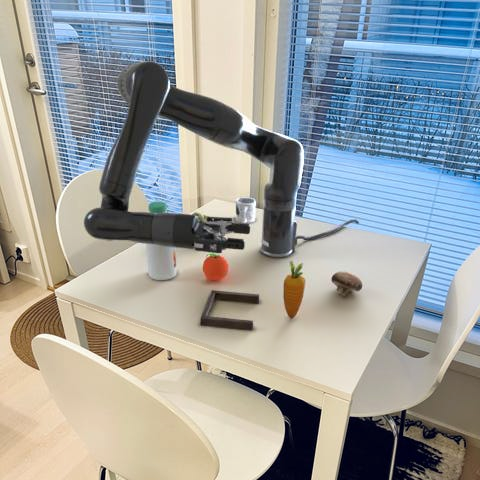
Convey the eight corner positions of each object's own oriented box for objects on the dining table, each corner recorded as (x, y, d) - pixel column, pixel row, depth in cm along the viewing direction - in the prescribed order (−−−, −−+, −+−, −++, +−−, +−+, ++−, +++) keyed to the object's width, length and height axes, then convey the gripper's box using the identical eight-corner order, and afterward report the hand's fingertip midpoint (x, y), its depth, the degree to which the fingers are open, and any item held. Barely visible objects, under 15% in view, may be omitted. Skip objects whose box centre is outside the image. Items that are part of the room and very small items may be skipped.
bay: (200, 325, 117) (200, 318, 116) (211, 296, 128) (211, 289, 127) (252, 330, 116) (252, 323, 115) (259, 301, 127) (259, 294, 126)
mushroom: (339, 292, 125) (347, 268, 125) (320, 290, 132) (328, 267, 132) (363, 302, 128) (370, 279, 128) (343, 299, 135) (351, 277, 136)
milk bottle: (171, 282, 134) (167, 210, 123) (144, 279, 135) (137, 207, 124) (180, 269, 141) (176, 200, 130) (153, 266, 142) (148, 197, 131)
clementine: (195, 276, 137) (194, 252, 134) (216, 269, 141) (216, 246, 137) (212, 288, 132) (212, 263, 128) (233, 280, 136) (233, 256, 132)
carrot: (279, 313, 122) (283, 257, 114) (299, 312, 123) (305, 257, 115) (282, 324, 118) (287, 267, 110) (303, 324, 119) (309, 267, 110)
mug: (236, 215, 176) (237, 196, 172) (255, 216, 175) (256, 197, 171) (233, 226, 167) (233, 207, 164) (253, 227, 167) (254, 208, 163)
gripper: (165, 226, 104) (243, 233, 103) (182, 203, 116) (252, 208, 115) (167, 259, 109) (242, 266, 107) (183, 233, 120) (251, 239, 119)
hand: (247, 236), depth 111 cm, fingers open, 8 cm apart
